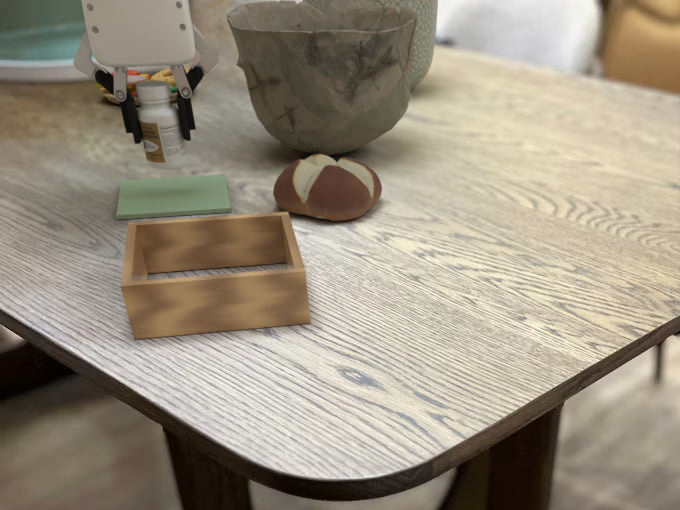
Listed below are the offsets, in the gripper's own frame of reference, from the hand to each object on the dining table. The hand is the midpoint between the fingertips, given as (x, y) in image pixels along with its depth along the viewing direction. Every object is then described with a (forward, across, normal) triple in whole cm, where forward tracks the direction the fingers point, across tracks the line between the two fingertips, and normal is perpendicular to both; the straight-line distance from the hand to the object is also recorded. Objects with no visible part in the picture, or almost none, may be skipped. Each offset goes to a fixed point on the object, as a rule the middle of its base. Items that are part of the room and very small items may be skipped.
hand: (162, 136), depth 91 cm
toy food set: (+7, +4, -48) cm, 49 cm away
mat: (+6, 0, 0) cm, 6 cm away
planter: (+7, -31, -47) cm, 57 cm away
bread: (+6, -17, +6) cm, 19 cm away
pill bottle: (+3, 0, 0) cm, 3 cm away
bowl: (+7, -20, -15) cm, 26 cm away
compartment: (+6, -4, +28) cm, 29 cm away
